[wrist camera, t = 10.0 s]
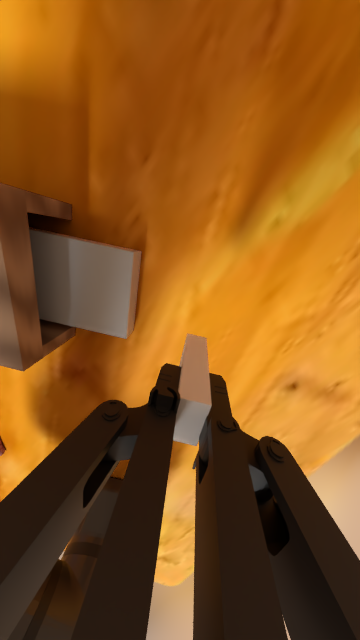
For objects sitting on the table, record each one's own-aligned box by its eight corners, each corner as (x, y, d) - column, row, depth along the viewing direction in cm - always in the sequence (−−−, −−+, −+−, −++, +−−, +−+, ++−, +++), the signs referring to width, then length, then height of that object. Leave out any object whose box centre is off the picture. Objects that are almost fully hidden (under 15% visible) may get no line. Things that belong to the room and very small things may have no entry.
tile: (134, 328, 25) (126, 339, 22) (9, 299, 25) (-14, 306, 22) (142, 251, 21) (133, 252, 18) (-6, 219, 21) (-37, 215, 19)
